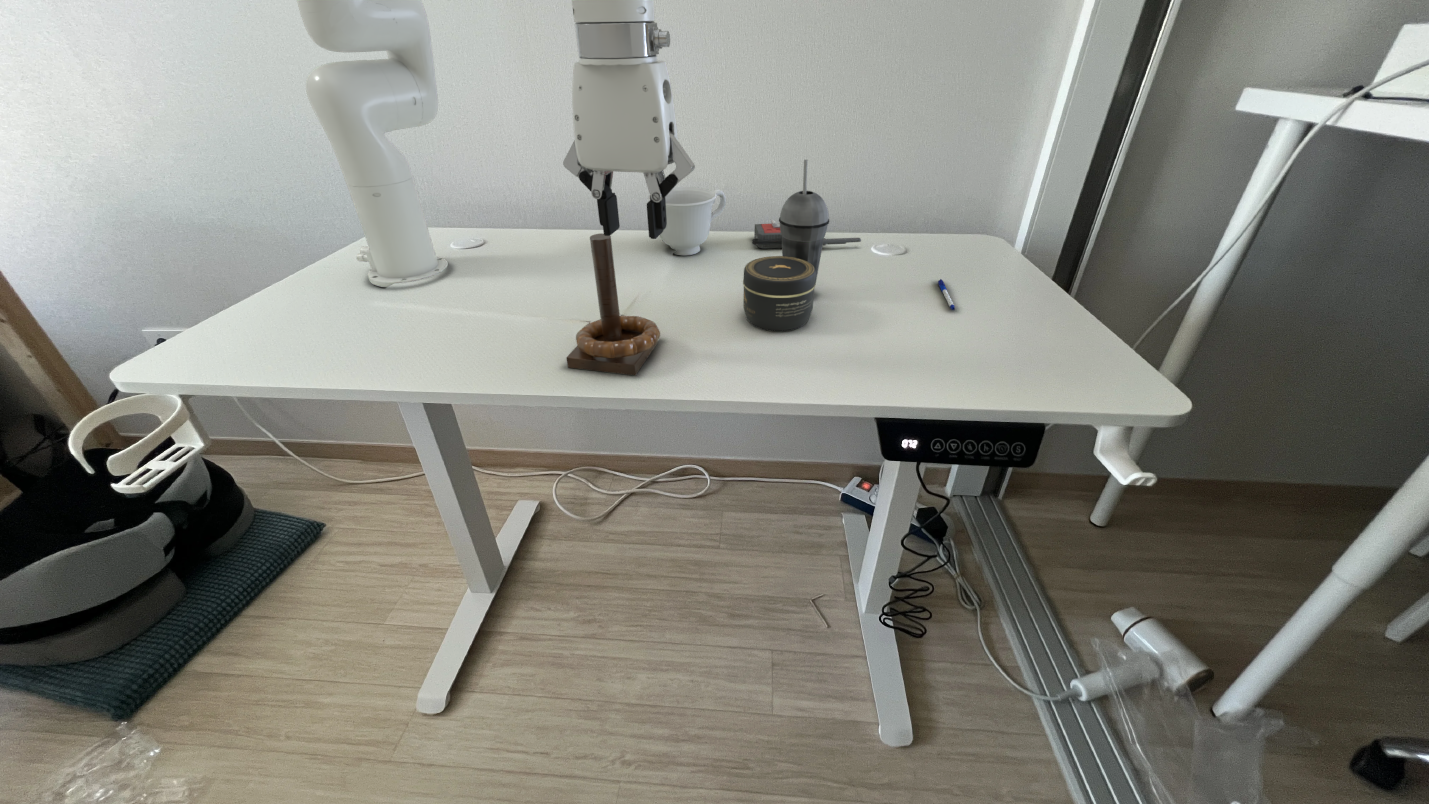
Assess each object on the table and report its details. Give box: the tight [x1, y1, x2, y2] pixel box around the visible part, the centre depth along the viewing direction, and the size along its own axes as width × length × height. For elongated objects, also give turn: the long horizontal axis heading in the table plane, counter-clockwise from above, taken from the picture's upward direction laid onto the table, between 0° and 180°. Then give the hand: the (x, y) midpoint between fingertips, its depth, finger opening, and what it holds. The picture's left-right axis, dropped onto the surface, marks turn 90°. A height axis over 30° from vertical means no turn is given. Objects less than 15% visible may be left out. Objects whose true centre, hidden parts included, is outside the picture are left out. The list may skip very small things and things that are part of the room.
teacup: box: [648, 186, 727, 256], centre depth 107 cm, size 12×15×10 cm
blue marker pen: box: [937, 278, 956, 311], centre depth 90 cm, size 10×1×1 cm, turn 174°
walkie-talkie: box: [751, 219, 862, 250], centre depth 110 cm, size 9×4×20 cm
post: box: [566, 233, 659, 376], centre depth 72 cm, size 9×9×16 cm
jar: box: [742, 255, 817, 332], centre depth 82 cm, size 10×10×8 cm
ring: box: [575, 315, 661, 358], centre depth 74 cm, size 10×10×2 cm
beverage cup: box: [778, 159, 830, 283], centre depth 86 cm, size 7×7×20 cm
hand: (634, 232), depth 66 cm, fingers open, 4 cm apart
